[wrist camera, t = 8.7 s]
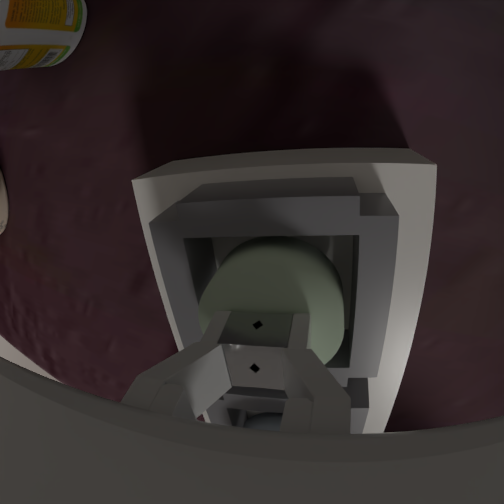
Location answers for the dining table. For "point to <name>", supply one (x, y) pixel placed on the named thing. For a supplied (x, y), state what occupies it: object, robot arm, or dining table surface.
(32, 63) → the supplement bottle
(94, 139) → the dining table surface
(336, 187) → the button console
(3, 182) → the teacup with lid
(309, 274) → the sage button
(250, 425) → the slate button
